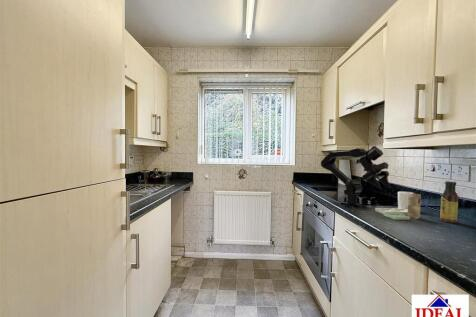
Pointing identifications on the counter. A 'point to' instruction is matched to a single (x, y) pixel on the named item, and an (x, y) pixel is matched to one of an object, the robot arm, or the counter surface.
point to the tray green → (397, 216)
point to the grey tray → (401, 210)
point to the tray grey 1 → (385, 210)
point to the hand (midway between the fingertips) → (385, 188)
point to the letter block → (414, 205)
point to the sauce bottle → (449, 203)
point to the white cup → (403, 199)
